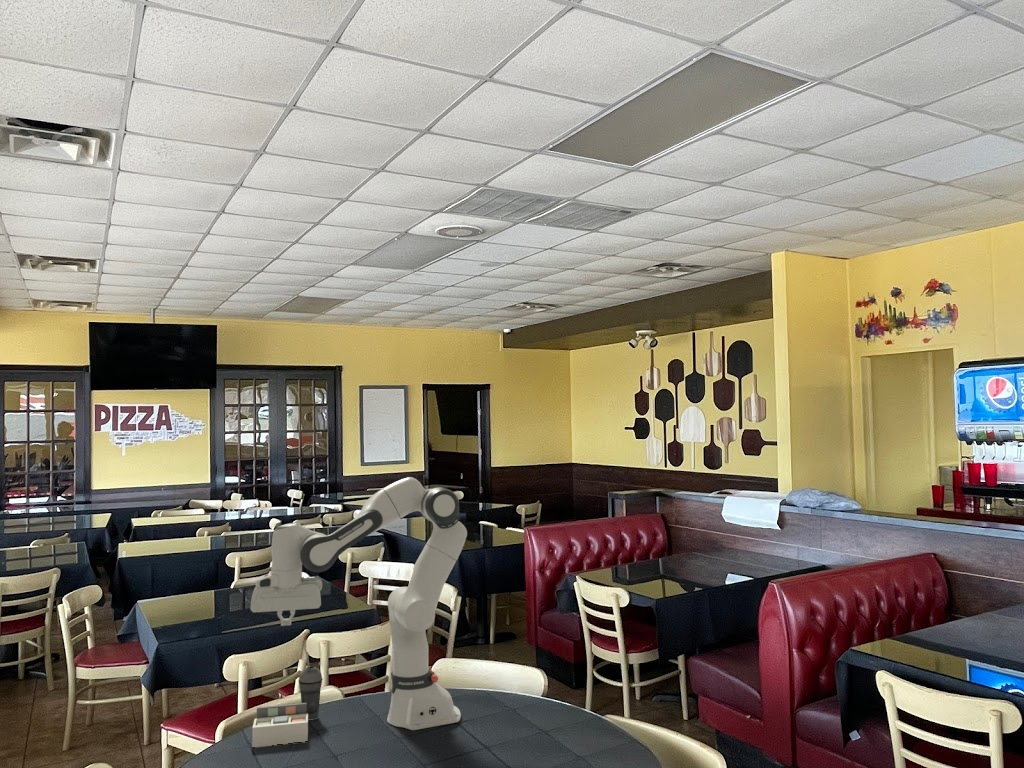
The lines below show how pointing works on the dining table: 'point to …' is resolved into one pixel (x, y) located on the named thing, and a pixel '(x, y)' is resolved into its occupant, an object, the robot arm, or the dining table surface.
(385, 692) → the dining table surface
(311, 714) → the beverage cup
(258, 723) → the key sage
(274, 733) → the keypad console
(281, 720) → the key slate
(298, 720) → the key terracotta
